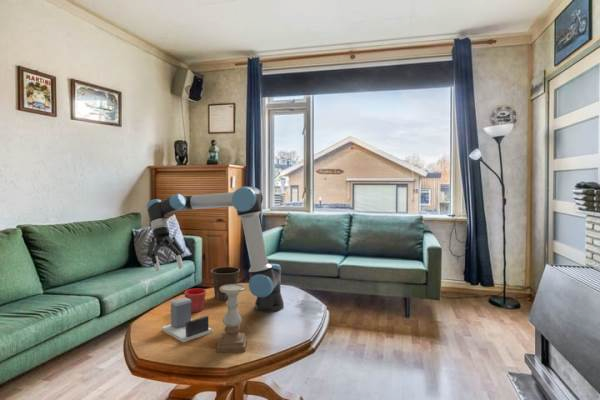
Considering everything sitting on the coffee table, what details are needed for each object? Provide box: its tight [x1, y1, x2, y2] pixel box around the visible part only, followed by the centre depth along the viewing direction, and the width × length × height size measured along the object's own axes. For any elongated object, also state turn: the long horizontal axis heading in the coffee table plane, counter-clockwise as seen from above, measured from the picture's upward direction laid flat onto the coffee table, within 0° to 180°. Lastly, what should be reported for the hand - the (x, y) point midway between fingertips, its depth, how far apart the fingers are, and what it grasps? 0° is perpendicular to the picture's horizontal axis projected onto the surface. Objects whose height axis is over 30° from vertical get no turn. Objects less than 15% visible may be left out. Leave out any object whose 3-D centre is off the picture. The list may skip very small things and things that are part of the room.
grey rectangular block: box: [170, 296, 192, 328], centre depth 160 cm, size 5×7×11 cm
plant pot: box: [210, 266, 241, 302], centre depth 204 cm, size 16×16×16 cm
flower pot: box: [184, 288, 207, 313], centre depth 184 cm, size 11×11×10 cm
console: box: [161, 315, 213, 343], centre depth 157 cm, size 18×14×8 cm
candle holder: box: [216, 283, 248, 354], centre depth 142 cm, size 11×11×24 cm
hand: (170, 269), depth 174 cm, fingers open, 13 cm apart
